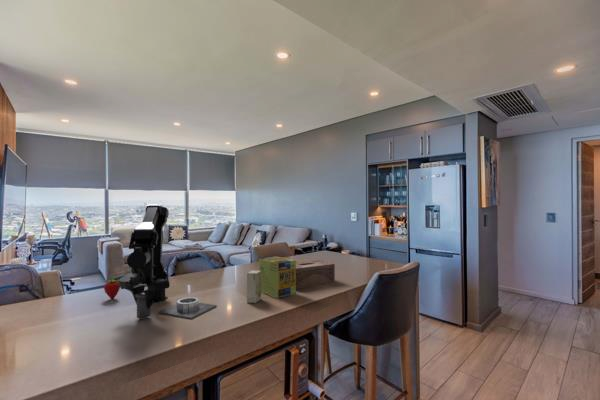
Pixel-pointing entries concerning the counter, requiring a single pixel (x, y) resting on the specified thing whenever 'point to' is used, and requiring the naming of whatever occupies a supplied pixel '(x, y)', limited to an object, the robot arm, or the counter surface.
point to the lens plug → (142, 306)
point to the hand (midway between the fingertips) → (143, 307)
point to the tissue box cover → (314, 273)
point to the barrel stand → (187, 308)
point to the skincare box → (253, 286)
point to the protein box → (278, 276)
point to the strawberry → (111, 288)
